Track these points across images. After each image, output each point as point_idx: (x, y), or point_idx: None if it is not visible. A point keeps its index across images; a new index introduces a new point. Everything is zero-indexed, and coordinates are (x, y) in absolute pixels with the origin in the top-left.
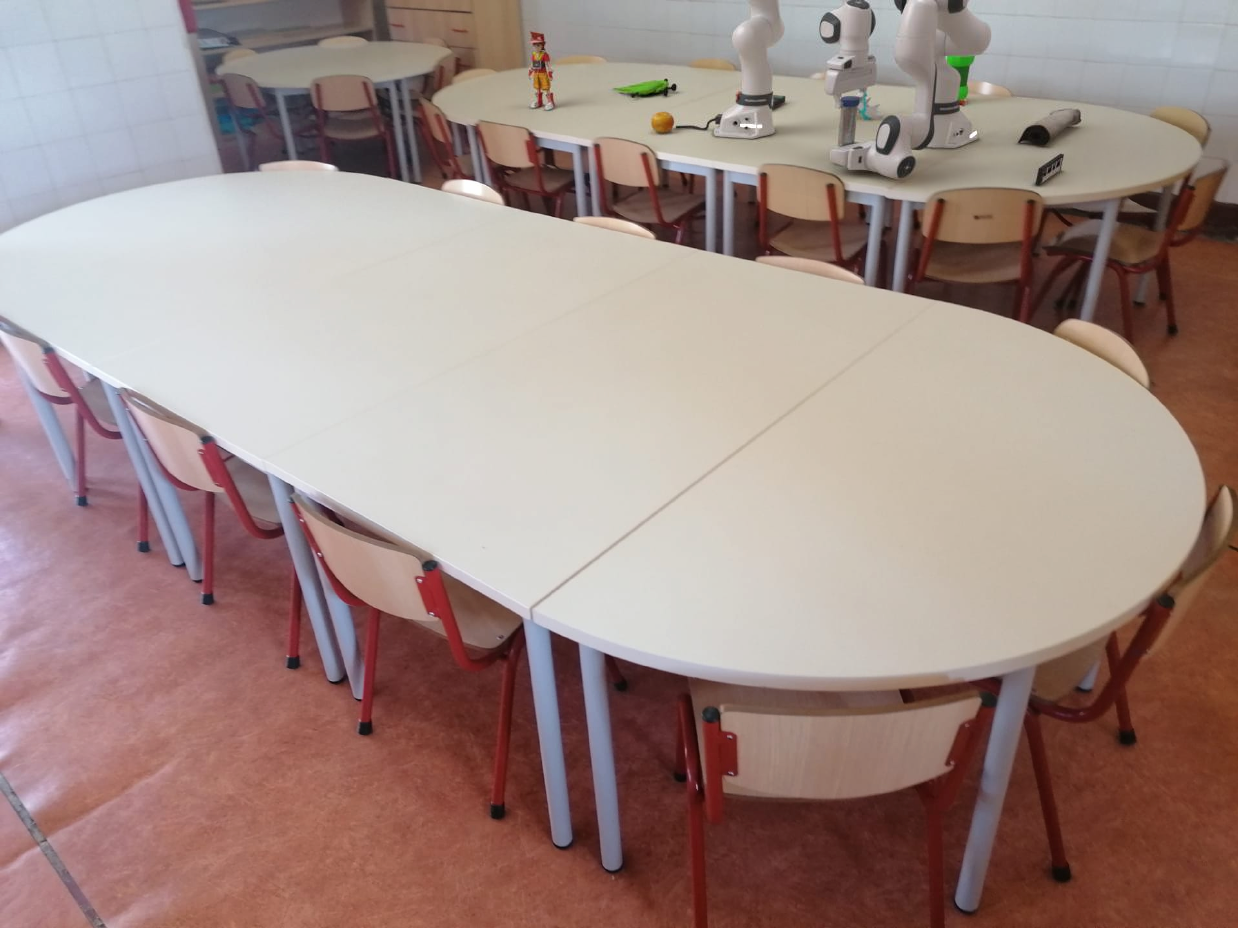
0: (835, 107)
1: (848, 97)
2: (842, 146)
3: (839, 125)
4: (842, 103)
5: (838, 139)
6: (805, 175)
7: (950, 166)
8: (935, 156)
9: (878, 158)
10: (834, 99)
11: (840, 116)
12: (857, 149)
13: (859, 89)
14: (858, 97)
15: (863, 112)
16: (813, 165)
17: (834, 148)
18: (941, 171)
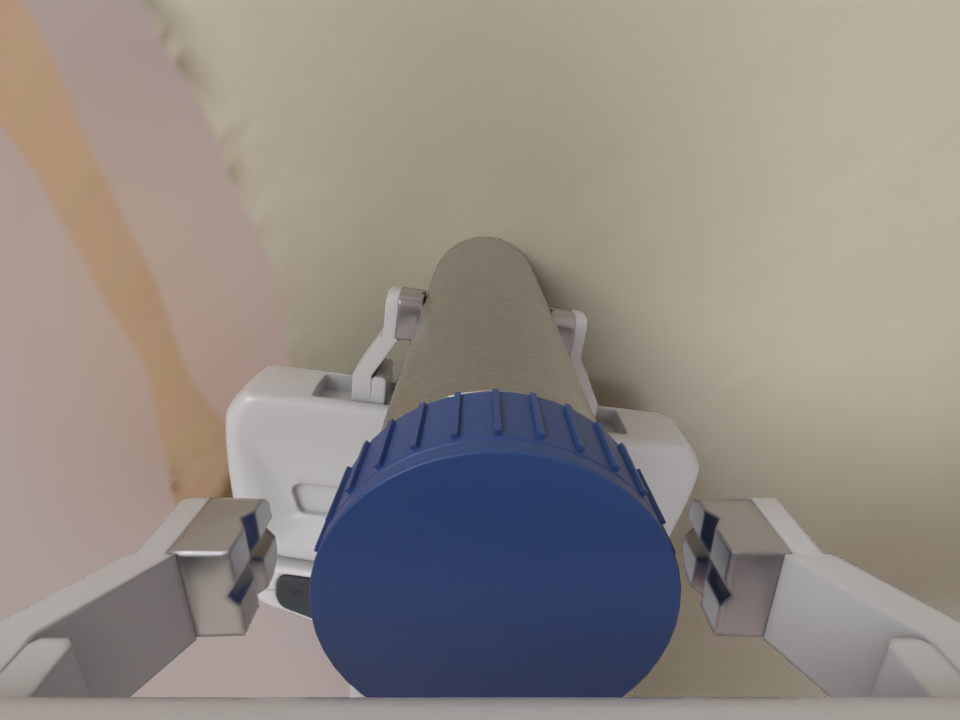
0: (187, 499)
1: (519, 562)
2: (352, 413)
3: (420, 335)
4: (241, 622)
5: (426, 303)
6: (126, 289)
7: (790, 665)
8: (915, 544)
9: (351, 691)
10: (56, 596)
11: (400, 385)
12: (292, 609)
13: (903, 674)
14: (637, 676)
15: None
16: (300, 171)
17: (258, 416)
18: (697, 679)
